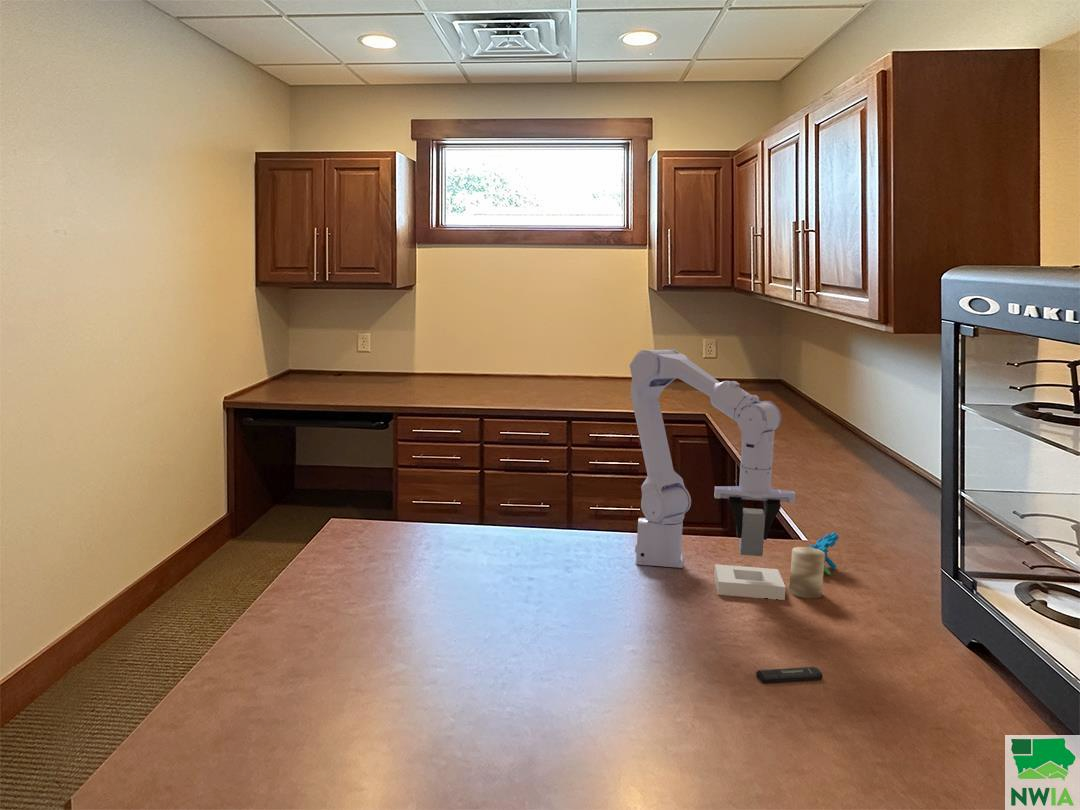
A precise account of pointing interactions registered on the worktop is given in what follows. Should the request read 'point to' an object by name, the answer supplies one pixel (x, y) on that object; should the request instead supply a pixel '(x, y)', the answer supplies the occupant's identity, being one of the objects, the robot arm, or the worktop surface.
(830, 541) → the gear
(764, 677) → the usb stick
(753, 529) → the square peg
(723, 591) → the socket block
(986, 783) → the worktop surface
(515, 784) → the worktop surface
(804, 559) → the round peg
